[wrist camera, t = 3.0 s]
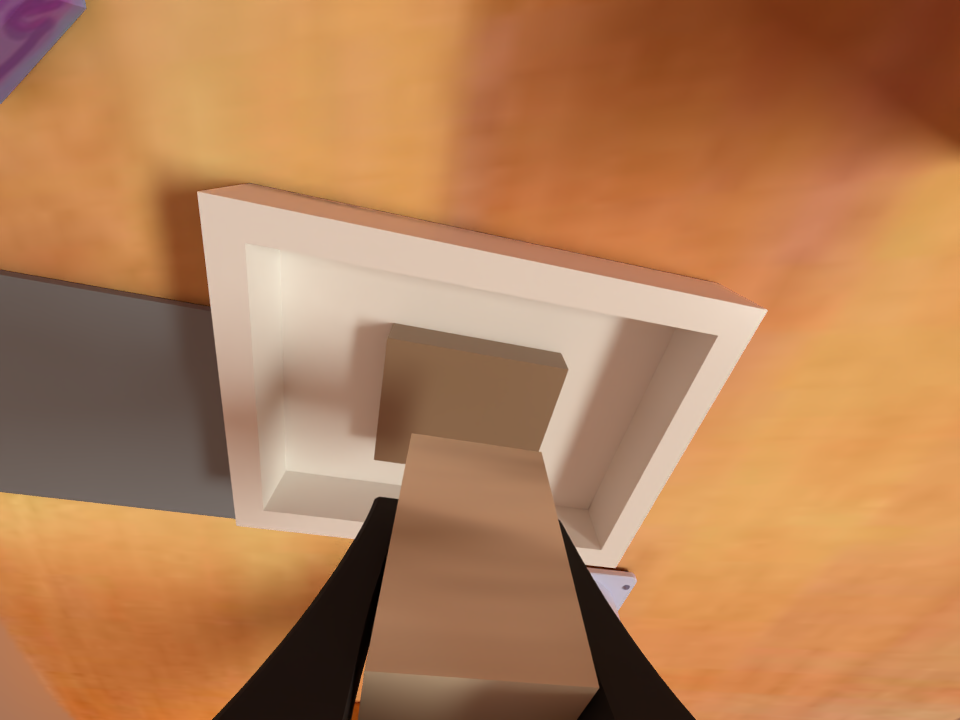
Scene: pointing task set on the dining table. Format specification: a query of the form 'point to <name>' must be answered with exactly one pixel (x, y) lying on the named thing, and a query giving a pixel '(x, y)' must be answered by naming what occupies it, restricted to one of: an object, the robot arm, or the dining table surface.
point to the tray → (449, 361)
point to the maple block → (476, 594)
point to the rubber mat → (110, 398)
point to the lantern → (30, 35)
